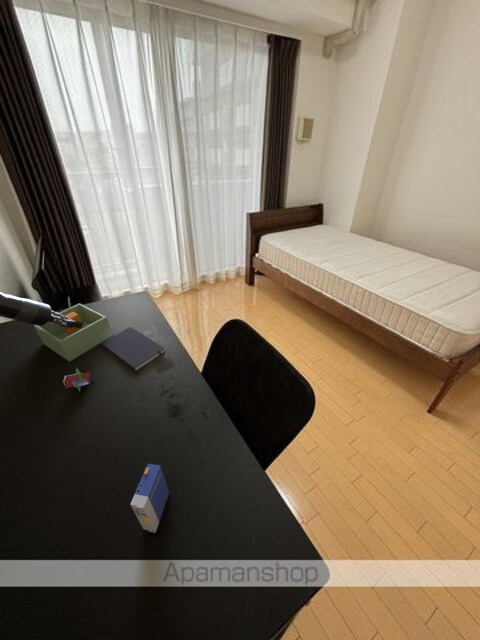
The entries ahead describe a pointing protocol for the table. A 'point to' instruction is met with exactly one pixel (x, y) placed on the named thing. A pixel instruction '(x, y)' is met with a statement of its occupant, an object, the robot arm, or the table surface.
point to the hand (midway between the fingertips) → (78, 323)
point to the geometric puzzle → (77, 379)
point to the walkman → (150, 498)
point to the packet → (74, 329)
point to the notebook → (133, 348)
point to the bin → (76, 333)
